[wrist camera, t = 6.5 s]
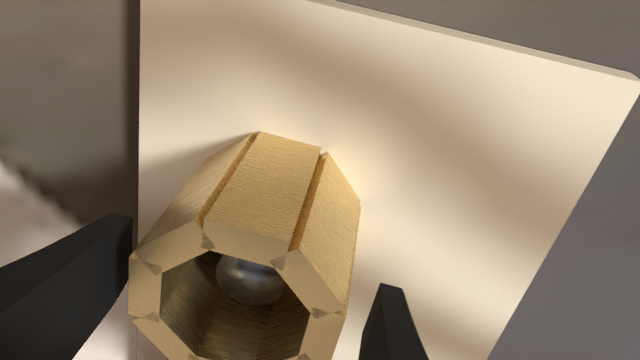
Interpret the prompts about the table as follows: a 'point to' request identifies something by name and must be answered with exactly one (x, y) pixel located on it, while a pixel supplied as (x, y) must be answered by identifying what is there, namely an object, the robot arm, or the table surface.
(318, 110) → the plate
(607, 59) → the table surface
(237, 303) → the octagonal wooden pipe
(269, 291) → the pin
